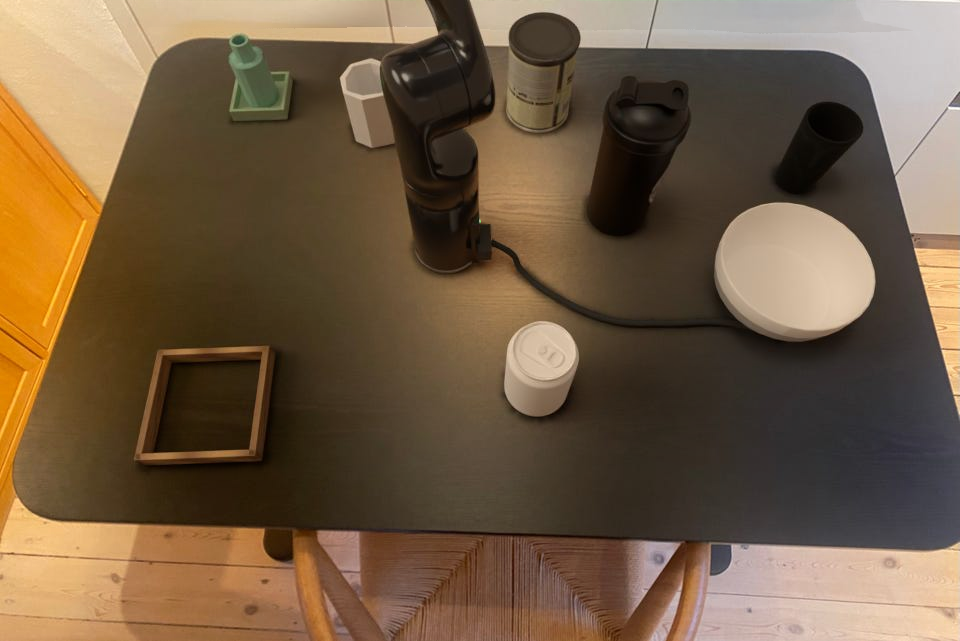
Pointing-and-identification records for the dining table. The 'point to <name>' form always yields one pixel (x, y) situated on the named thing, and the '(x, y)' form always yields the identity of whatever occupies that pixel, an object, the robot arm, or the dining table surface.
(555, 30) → the coffee can
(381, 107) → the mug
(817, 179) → the cup
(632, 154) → the water bottle
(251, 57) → the bottle
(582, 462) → the dining table surface
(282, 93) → the tray
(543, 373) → the beverage can
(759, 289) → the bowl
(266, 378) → the wooden square frame
